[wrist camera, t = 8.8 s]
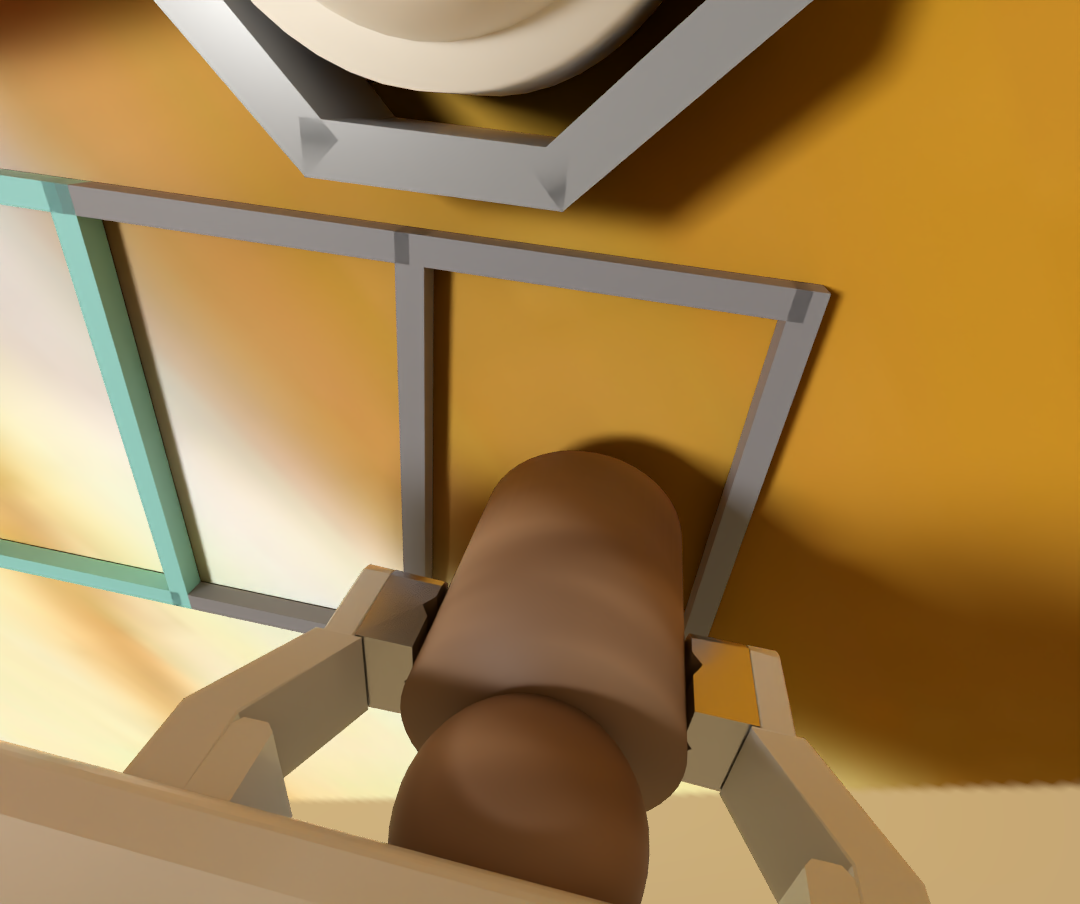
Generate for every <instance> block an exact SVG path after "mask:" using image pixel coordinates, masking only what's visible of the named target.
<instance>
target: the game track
mask: <svg viewBox="0 0 1080 904" xmlns="http://www.w3.org/2000/svg"><path fill="white" fill-rule="evenodd" d="M0 204H1V205H8V206H15V207H21V208H28V209H35V210H42V211H48V212H51V215H52V218H53V221H54V224H55V227H56V231H57V234H58V237H59V240H60V243H61V246H62V250H63V253H64V256H65V259H66V262H67V266H68V269H69V272H70V275H71V278H72V282H73V285H74V288H75V291H76V294H77V297H78V301H79V304H80V307H81V310H82V313H83V317H84V320H85V323H86V326H87V329H88V333H89V336H90V339H91V342H92V345H93V348H94V352H95V355H96V358H97V361H98V364H99V368H100V371H101V374H102V377H103V380H104V383H105V387H106V390H107V393H108V396H109V399H110V403H111V406H112V409H113V412H114V415H115V419H116V422H117V425H118V428H119V431H120V434H121V438H122V441H123V444H124V447H125V450H126V454H127V457H128V460H129V463H130V466H131V470H132V473H133V476H134V479H135V482H136V485H137V489H138V492H139V495H140V498H141V501H142V505H143V508H144V511H145V514H146V517H147V520H148V524H149V527H150V530H151V533H152V536H153V540H154V543H155V546H156V549H157V552H158V556H159V559H160V562H161V565H162V568H163V571H164V574H163V573H158V572H153V571H148V570H144V569H139V568H134V567H130V566H125V565H120V564H115V563H111V562H106V561H101V560H96V559H92V558H87V557H82V556H78V555H73V554H68V553H63V552H59V551H54V550H49V549H44V548H40V547H35V546H30V545H26V544H21V543H16V542H11V541H7V540H2V539H0V567H1V568H6V569H10V570H15V571H20V572H24V573H29V574H33V575H38V576H43V577H47V578H52V579H56V580H61V581H66V582H70V583H75V584H80V585H84V586H89V587H93V588H98V589H103V590H107V591H112V592H116V593H121V594H126V595H130V596H135V597H139V598H144V599H149V600H153V601H158V602H162V603H167V604H172V605H176V606H181V607H186V608H190V609H195V610H199V611H204V612H209V613H213V614H218V615H222V616H227V617H232V618H236V619H241V620H245V621H250V622H255V623H259V624H264V625H269V626H273V627H278V628H282V629H287V630H292V631H296V632H301V633H306V632H308V631H310V630H312V629H314V628H315V627H318V628H323V629H324V628H325V626H326V625H327V623H328V622H329V620H330V619H331V617H332V616H333V614H334V613H335V611H336V610H333V609H328V608H323V607H319V606H314V605H309V604H304V603H300V602H295V601H290V600H285V599H281V598H276V597H271V596H267V595H262V594H257V593H252V592H248V591H243V590H238V589H234V588H229V587H224V586H219V585H215V584H210V583H205V582H201V581H200V578H199V574H198V570H197V567H196V563H195V559H194V556H193V552H192V548H191V545H190V541H189V537H188V534H187V530H186V526H185V523H184V519H183V515H182V512H181V508H180V504H179V501H178V497H177V493H176V490H175V486H174V482H173V479H172V475H171V471H170V468H169V464H168V460H167V457H166V453H165V449H164V446H163V442H162V438H161V435H160V431H159V427H158V424H157V420H156V416H155V413H154V409H153V405H152V402H151V398H150V394H149V391H148V387H147V383H146V380H145V376H144V372H143V369H142V365H141V362H140V358H139V354H138V351H137V347H136V343H135V340H134V336H133V332H132V329H131V325H130V321H129V318H128V314H127V310H126V307H125V303H124V299H123V296H122V292H121V288H120V285H119V281H118V277H117V274H116V270H115V266H114V263H113V259H112V255H111V252H110V248H109V244H108V241H107V237H106V233H105V230H104V226H103V222H102V220H109V221H116V222H122V223H129V224H136V225H143V226H149V227H156V228H163V229H170V230H176V231H183V232H190V233H196V234H203V235H210V236H217V237H223V238H230V239H237V240H244V241H250V242H257V243H264V244H271V245H277V246H284V247H291V248H298V249H304V250H311V251H318V252H324V253H331V254H338V255H345V256H351V257H358V258H365V259H372V260H378V261H385V262H392V263H395V286H396V321H397V355H398V390H399V424H400V459H401V493H402V528H403V563H404V572H407V573H411V574H415V575H419V576H423V577H427V578H432V536H433V333H434V269H439V270H446V271H452V272H459V273H466V274H473V275H479V276H486V277H493V278H500V279H506V280H513V281H520V282H527V283H533V284H540V285H547V286H554V287H560V288H567V289H574V290H580V291H587V292H594V293H601V294H607V295H614V296H621V297H628V298H634V299H641V300H648V301H655V302H661V303H668V304H675V305H682V306H688V307H695V308H702V309H708V310H715V311H722V312H729V313H735V314H742V315H749V316H756V317H762V318H769V319H776V320H778V321H777V325H776V328H775V331H774V334H773V337H772V340H771V343H770V346H769V350H768V353H767V356H766V359H765V362H764V365H763V368H762V371H761V375H760V378H759V381H758V384H757V387H756V390H755V393H754V397H753V400H752V403H751V406H750V409H749V412H748V415H747V418H746V422H745V425H744V428H743V431H742V434H741V437H740V440H739V443H738V447H737V450H736V453H735V456H734V459H733V462H732V465H731V468H730V472H729V475H728V478H727V481H726V484H725V487H724V490H723V494H722V497H721V500H720V503H719V506H718V509H717V512H716V515H715V519H714V522H713V525H712V528H711V531H710V534H709V537H708V540H707V544H706V547H705V550H704V553H703V556H702V559H701V562H700V566H699V569H698V572H697V575H696V578H695V581H694V584H693V587H692V591H691V594H690V597H689V600H688V603H687V606H686V609H685V612H684V638H685V639H686V637H687V635H688V634H689V633H691V634H696V635H701V636H706V637H708V635H709V632H710V629H711V627H712V624H713V621H714V618H715V615H716V613H717V610H718V607H719V604H720V602H721V599H722V596H723V593H724V590H725V588H726V585H727V582H728V579H729V576H730V574H731V571H732V568H733V565H734V563H735V560H736V557H737V554H738V551H739V549H740V546H741V543H742V540H743V538H744V535H745V532H746V529H747V526H748V524H749V521H750V518H751V515H752V513H753V510H754V507H755V504H756V501H757V499H758V496H759V493H760V490H761V487H762V485H763V482H764V479H765V476H766V474H767V471H768V468H769V465H770V462H771V460H772V457H773V454H774V451H775V449H776V446H777V443H778V440H779V437H780V435H781V432H782V429H783V426H784V423H785V421H786V418H787V415H788V412H789V410H790V407H791V404H792V401H793V398H794V396H795V393H796V390H797V387H798V385H799V382H800V379H801V376H802V373H803V371H804V368H805V365H806V362H807V360H808V357H809V354H810V351H811V348H812V346H813V343H814V340H815V337H816V334H817V332H818V329H819V326H820V323H821V321H822V318H823V315H824V312H825V309H826V307H827V304H828V301H829V298H830V296H831V293H830V292H829V291H828V290H827V289H826V288H825V287H824V286H823V285H818V284H811V283H804V282H797V281H790V280H782V279H775V278H768V277H761V276H754V275H747V274H740V273H733V272H726V271H719V270H712V269H705V268H698V267H691V266H684V265H677V264H670V263H663V262H655V261H648V260H641V259H634V258H627V257H620V256H613V255H606V254H599V253H592V252H585V251H578V250H571V249H564V248H557V247H550V246H543V245H536V244H528V243H521V242H514V241H507V240H500V239H493V238H486V237H479V236H472V235H465V234H458V233H451V232H444V231H437V230H430V229H423V228H416V227H408V226H401V225H394V224H387V223H380V222H373V221H366V220H359V219H352V218H345V217H338V216H331V215H324V214H317V213H310V212H303V211H296V210H289V209H281V208H274V207H267V206H260V205H253V204H246V203H239V202H232V201H225V200H218V199H211V198H204V197H197V196H190V195H183V194H176V193H169V192H161V191H154V190H147V189H140V188H133V187H126V186H119V185H112V184H105V183H98V182H91V181H84V180H77V179H70V178H63V177H56V176H49V175H42V174H34V173H27V172H20V171H13V170H6V169H0Z"/></svg>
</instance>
